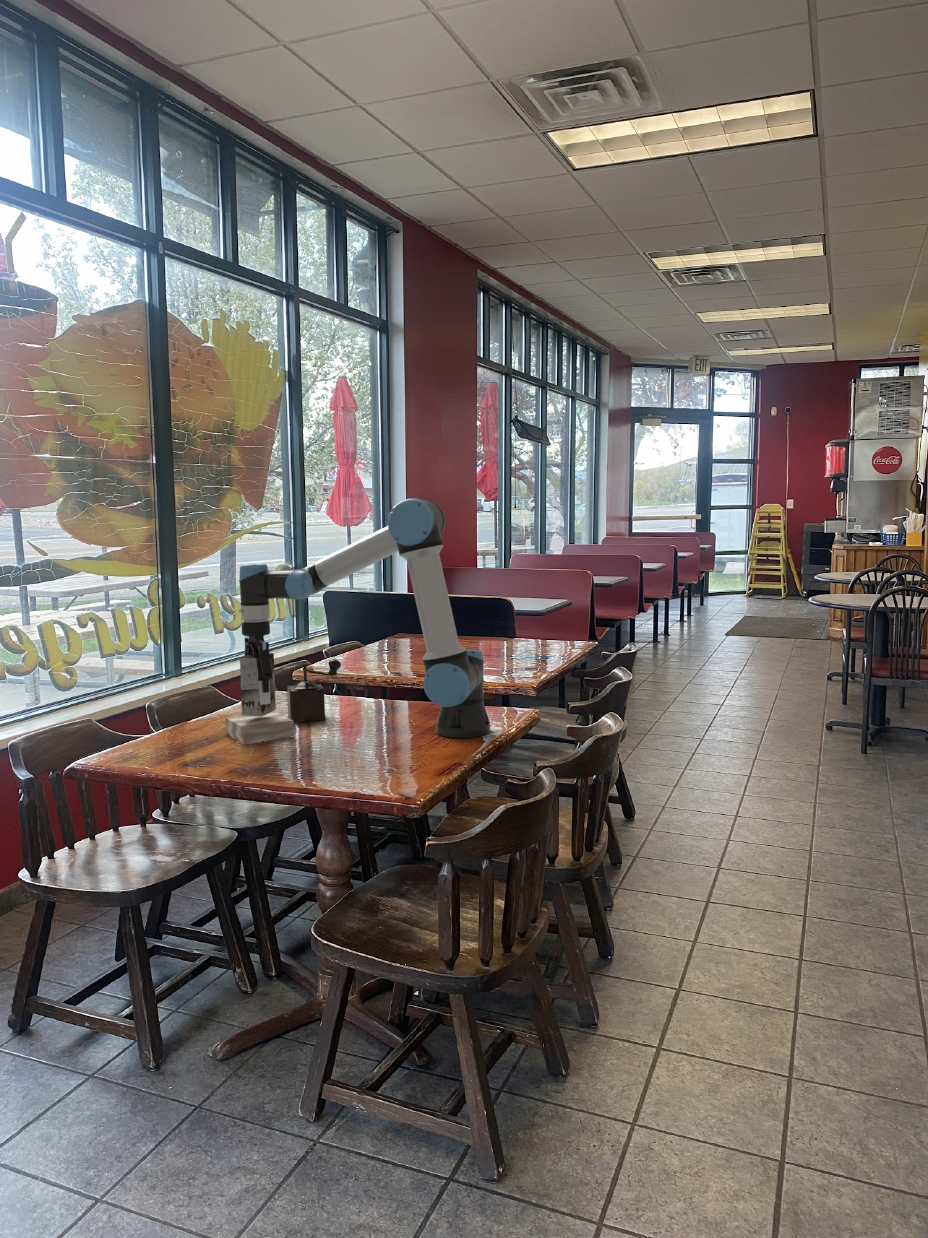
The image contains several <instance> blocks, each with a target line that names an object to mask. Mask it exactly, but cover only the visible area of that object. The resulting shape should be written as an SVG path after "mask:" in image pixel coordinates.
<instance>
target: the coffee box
mask: <svg viewBox="0 0 928 1238" xmlns="http://www.w3.org/2000/svg"><path fill="white" fill-rule="evenodd" d="M274 654H275V652H269V655H270V662H271V670H272V676H273V677H272V678H271V679H270V703H271V704H263V705H260V695H259V681H258V678H260V676H259V668H258V663H259V664H260V657H254V656H253V654H252V655H246V656H240V657H239V673H240V675H239V676H240V700H241V703H240V704H241V716H260V717H262V716H264V715H266V714H268V713H270V712H275V711H276V708H277V707H276V703H277V702H276V680H275V678H276V677H275V676H276V675H275V655H274ZM260 665H261V664H260ZM265 675H266V674H265Z"/></svg>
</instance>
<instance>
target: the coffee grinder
mask: <svg viewBox="0 0 928 1238" xmlns="http://www.w3.org/2000/svg"><path fill="white" fill-rule="evenodd" d="M341 666H342V663H341V661H340V660H338V659H336V658H334V659H333V658H332V659H330V660H329V661H328V667H329V669H328V672H325V671H321V670H312V669H311V670H310V669H308V665H307V663H303V664H302V667H303V668H302V671H303V681H299V682H298V683H296V684H294V685H287V718H288V717H289V719H291V720H293V722H299V723H310V722H309V721H312V722H316V721H315V720H321V721H326V711H325V708H326V707H325V706H326V705H325V689H324V687H323V685H321V684H316V683H315V682H313V681H310V680H308V677H307V676H308V675H307V674H308V673H310V674H315V675H323V676H327V677H333V676H337V675H338V672H337V671H338V670H339V669H341Z"/></svg>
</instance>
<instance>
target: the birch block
mask: <svg viewBox="0 0 928 1238" xmlns="http://www.w3.org/2000/svg"><path fill="white" fill-rule="evenodd" d="M225 726H226V729H225V730H226V736H228V735H229V736H228V737H230V736H231V737H230V738H231V739H233V740H236V741H237V742H239V743H240V744H243V745H250V744H256V743H257V744H258V743H263V742H262V741H264V742H271V741H276V739H278V740H281V739H280V738H284V739H288V738H287V737H291V736H294V737H295V732H294V729H295V728H294V727H295V726H294V723H293V720H291V719H289V718H288V716H284V715H283V714H279V713H277V712H275V711H272V712H270V713H268V714H266V715H264V716H262V717H260V716H242V715H240V716H233V717H226V718H225ZM291 738H292V737H291ZM270 740H271V741H270Z"/></svg>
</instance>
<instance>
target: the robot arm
mask: <svg viewBox="0 0 928 1238" xmlns="http://www.w3.org/2000/svg"><path fill="white" fill-rule="evenodd" d="M445 515H446V514H445V513H444V510H443V509H442V507H441V506H440V505H439V504H438V503H437V502H435V501H433V500H430V499H423V498H417V497H413V498H407V499H404V500H401V501H399V502H398V503H397V504H395V505H394V506H393V508H392V509H391V510H390V513H388V519H387V525H386V526H384V527H383V528H381V529H379V530H376V531H375V532H373V533H371V534H369V535H367V536H365V537H363V538H360V539H359V540H357V541H355V542H353V543H351V544H349V545H347V546H345V547H343V548H342V549H339V550H338V551H335V552H333V553H331V554H329V555H327V556H325V557H323V558H322V559H319V560H317V561H315V562H313V563H312V564H309V565H307V566H305V567H303V568H299V569H292V570H269V567H268V564H267V563H261V562H260V563H257V562H256V563H243V564H241V565H240V567H239V579H238V580H239V581H238V582H239V591H240V592H239V593H240V609H239V610H238V612H239V613H241V614H240V616H241V617H240V618H241V620H242V622H241V624H240V625H241V635H242V636H245V637H244V640H243V641H244V656H246V655H252V654H253V656H254V657H260V664H261V665H260V664H259V663H258V668H259V676H260V678H258V681H259V695H260V705H263V704H271V703H270V679H271V678H272V677H273V676H272V670H271V662H270V655H269V653H270V644H269V642H268V641H265V636H268V635H270V633H271V625H270V623H271V621H269V619H270V617H271V616H270V615H271V614H270V613H271V612H270V610H271V609H270V600H273V599H275V600H277V599H282V600H284V599H285V600H294V601H295V600H303V599H308V598H309V597H310V596H313V595H315V594H317V593H320V592H321V591H322V590H323V589H326V587H327V588H328V587H330V585H332V584H335V583H337V582H339V581H341V580H343V579H346V578H347V577H349V576H351V575H353V574H356V573H357V572H360V571H361V570H363V569H366V568H367V567H369V566H372V565H373V564H376V563H377V562H380V561H382V560H384V559H385V558H388V557H390V556H392V555H394V554H395V553H398V556H400V558H402V559H404V560H405V561H406V563H407V568H408V572H409V577H410V581H411V586H412V591H413V595H414V600H415V604H416V608H417V612H418V613H417V614H418V617H419V623H420V627H421V630H422V635H423V640H424V644H425V649H426V652H425V653H424V655H423V657H422V661H423V662H422V663H423V667H424V672H425V675H424V677H423V689H424V693H425V694H426V696H427V698H428V699H429V700H430V701H431V702H432V703H434V705H435V704H436V705H438V706H440V710H439V713H438V716H437V719H436V722H435V734H437V735H439V736H441V737H447V738H459V739H462V738H463V739H465V738H466V739H468V738H477V737H482V736H485V735H488V734H490V732H491V722H490V719H489V716H488V713H487V709H486V707H485V702H484V701H485V700H484V691H485V690H484V688H485V687H484V685H485V684H484V663H485V660H484V654H483V652H482V650H480V649H479V650H478V649H467V648H466V647H465V646H463V645H462V644H460V643H459V642H460V641H459V637H458V633H457V629H456V623H455V620H454V619H455V618H454V615H453V609H452V606H451V601H450V598H449V597H450V596H449V592H448V587H447V582H446V578H445V575H444V571H443V570H444V569H443V566H442V560H441V557H440V552H442V549H443V548H444V542H443V537H442V534H443V532H444V530H445V528H446V516H445ZM265 674H266V675H265Z"/></svg>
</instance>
